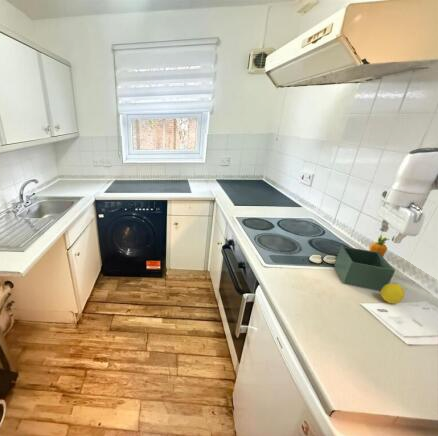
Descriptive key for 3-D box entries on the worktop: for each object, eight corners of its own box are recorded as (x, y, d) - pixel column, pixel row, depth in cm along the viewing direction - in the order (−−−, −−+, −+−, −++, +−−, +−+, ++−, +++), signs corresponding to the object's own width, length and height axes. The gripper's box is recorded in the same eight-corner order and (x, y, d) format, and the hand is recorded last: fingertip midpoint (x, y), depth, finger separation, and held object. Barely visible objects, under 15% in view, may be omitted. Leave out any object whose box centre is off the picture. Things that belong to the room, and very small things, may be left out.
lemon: (375, 295, 87) (383, 277, 84) (395, 300, 84) (405, 282, 81) (379, 304, 82) (388, 286, 79) (401, 310, 80) (411, 291, 77)
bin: (370, 272, 99) (378, 252, 96) (384, 292, 88) (395, 270, 84) (333, 265, 104) (340, 246, 100) (343, 283, 93) (351, 262, 89)
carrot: (364, 262, 106) (376, 232, 101) (378, 267, 103) (392, 236, 97) (361, 266, 104) (374, 235, 98) (376, 271, 100) (390, 240, 94)
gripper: (439, 210, 68) (417, 252, 73) (402, 191, 85) (387, 226, 91) (409, 207, 70) (391, 248, 76) (380, 189, 87) (366, 224, 93)
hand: (388, 236), depth 83 cm, fingers open, 8 cm apart
